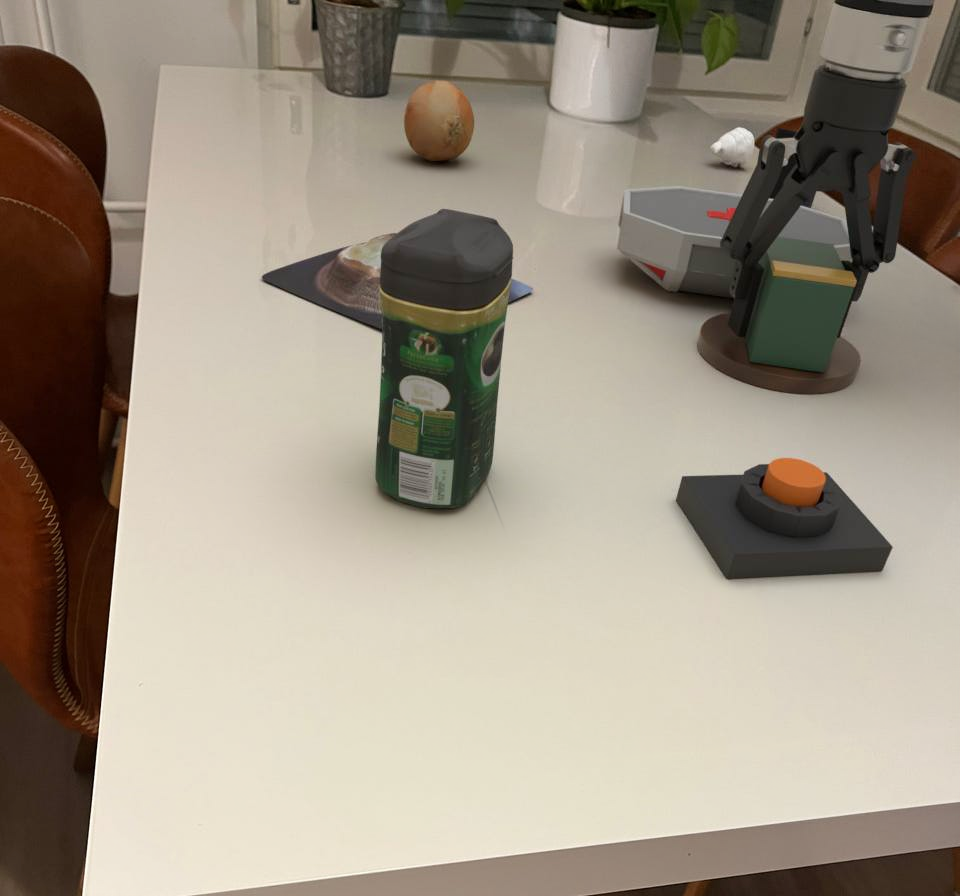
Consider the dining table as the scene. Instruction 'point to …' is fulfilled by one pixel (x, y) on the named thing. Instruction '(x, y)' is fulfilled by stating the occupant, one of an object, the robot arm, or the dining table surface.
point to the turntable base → (734, 361)
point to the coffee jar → (441, 356)
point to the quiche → (348, 280)
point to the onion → (439, 121)
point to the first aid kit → (702, 235)
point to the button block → (779, 529)
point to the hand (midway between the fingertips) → (783, 331)
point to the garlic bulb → (735, 147)
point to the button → (793, 482)
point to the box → (799, 305)
